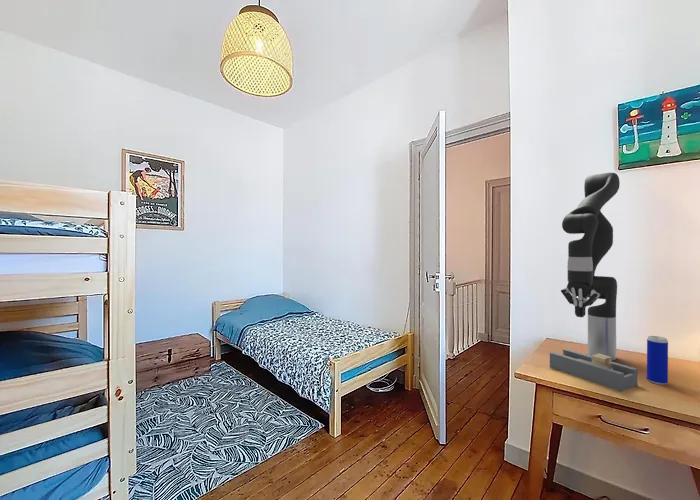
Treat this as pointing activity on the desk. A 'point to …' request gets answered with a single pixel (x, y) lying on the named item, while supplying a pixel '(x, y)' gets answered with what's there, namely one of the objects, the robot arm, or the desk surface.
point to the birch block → (601, 360)
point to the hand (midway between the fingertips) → (580, 316)
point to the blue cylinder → (657, 360)
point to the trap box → (594, 370)
